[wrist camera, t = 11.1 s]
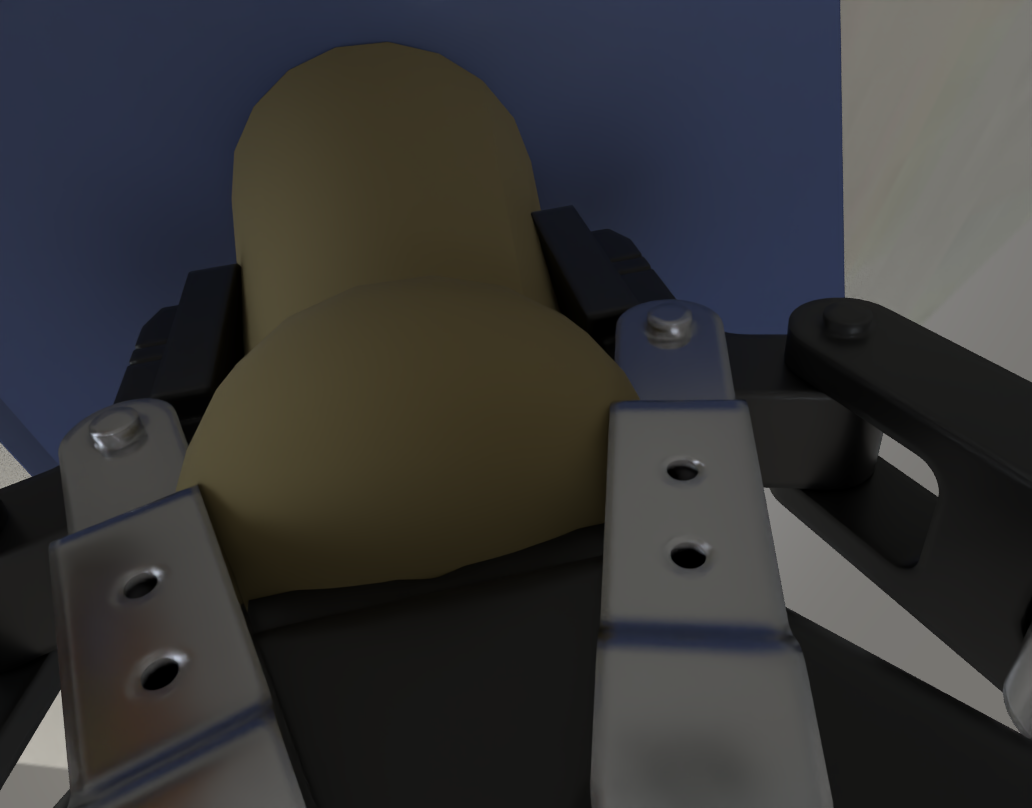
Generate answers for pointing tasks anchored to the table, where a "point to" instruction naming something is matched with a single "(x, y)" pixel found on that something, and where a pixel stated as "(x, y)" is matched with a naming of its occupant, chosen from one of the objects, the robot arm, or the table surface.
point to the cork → (395, 338)
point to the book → (471, 45)
